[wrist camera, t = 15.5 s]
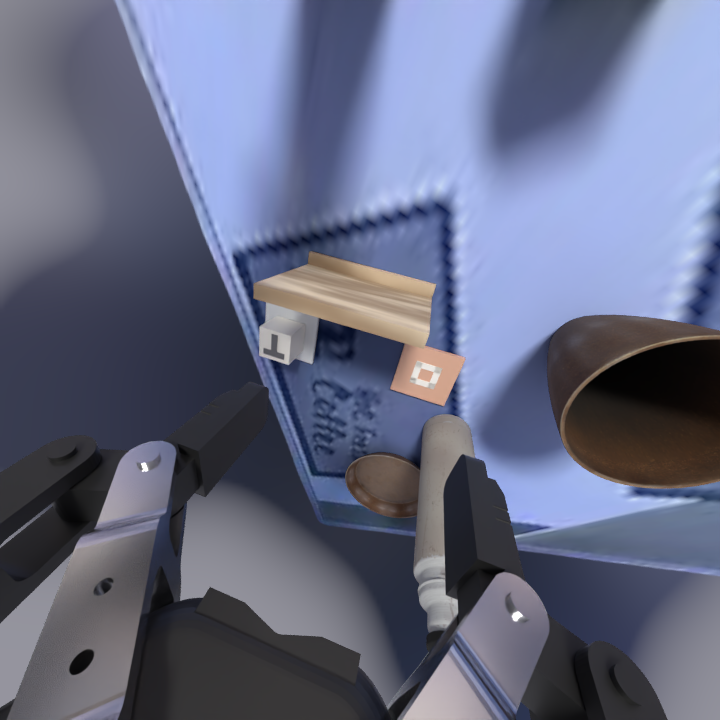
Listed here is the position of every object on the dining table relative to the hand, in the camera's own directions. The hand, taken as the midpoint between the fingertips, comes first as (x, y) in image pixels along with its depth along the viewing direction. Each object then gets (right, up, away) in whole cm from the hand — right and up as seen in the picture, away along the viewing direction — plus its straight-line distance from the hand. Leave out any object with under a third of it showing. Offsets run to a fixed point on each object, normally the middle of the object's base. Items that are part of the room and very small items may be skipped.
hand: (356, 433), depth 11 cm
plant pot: (+29, +5, +24) cm, 38 cm away
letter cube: (-11, +7, +34) cm, 36 cm away
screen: (+1, +14, +27) cm, 31 cm away
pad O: (+11, +1, +32) cm, 33 cm away
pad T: (-11, +8, +34) cm, 37 cm away
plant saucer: (+6, -21, +45) cm, 50 cm away
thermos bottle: (+15, -10, +36) cm, 40 cm away
